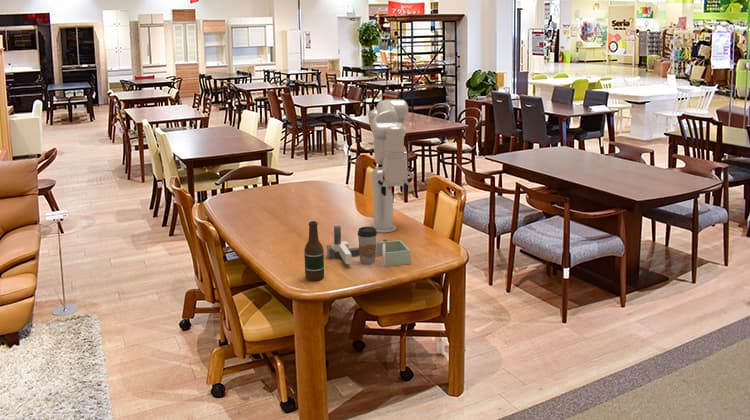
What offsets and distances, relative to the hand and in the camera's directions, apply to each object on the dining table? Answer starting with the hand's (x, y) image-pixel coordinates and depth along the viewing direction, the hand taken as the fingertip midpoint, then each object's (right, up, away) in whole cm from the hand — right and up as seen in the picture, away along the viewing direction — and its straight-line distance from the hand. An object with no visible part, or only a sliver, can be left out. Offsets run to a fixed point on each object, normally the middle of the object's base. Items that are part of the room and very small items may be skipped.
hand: (394, 194), depth 300 cm
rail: (-16, -27, +13) cm, 34 cm away
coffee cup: (-12, -30, +5) cm, 32 cm away
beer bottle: (-33, -35, -13) cm, 50 cm away
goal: (-1, -29, +7) cm, 29 cm away
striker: (-22, -27, +5) cm, 35 cm away
